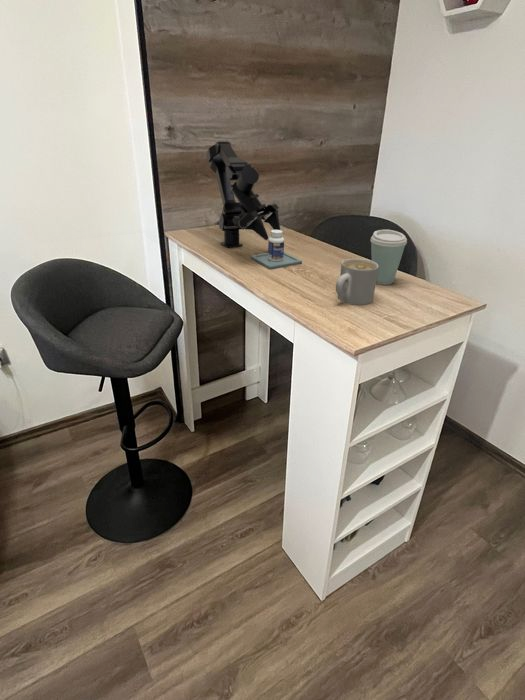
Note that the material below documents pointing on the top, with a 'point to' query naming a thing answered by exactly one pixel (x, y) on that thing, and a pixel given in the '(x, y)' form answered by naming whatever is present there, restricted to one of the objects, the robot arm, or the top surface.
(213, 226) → the top surface
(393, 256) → the disposable coffee cup
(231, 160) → the robot arm
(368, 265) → the coffee mug
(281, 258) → the pill bottle
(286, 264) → the tray
